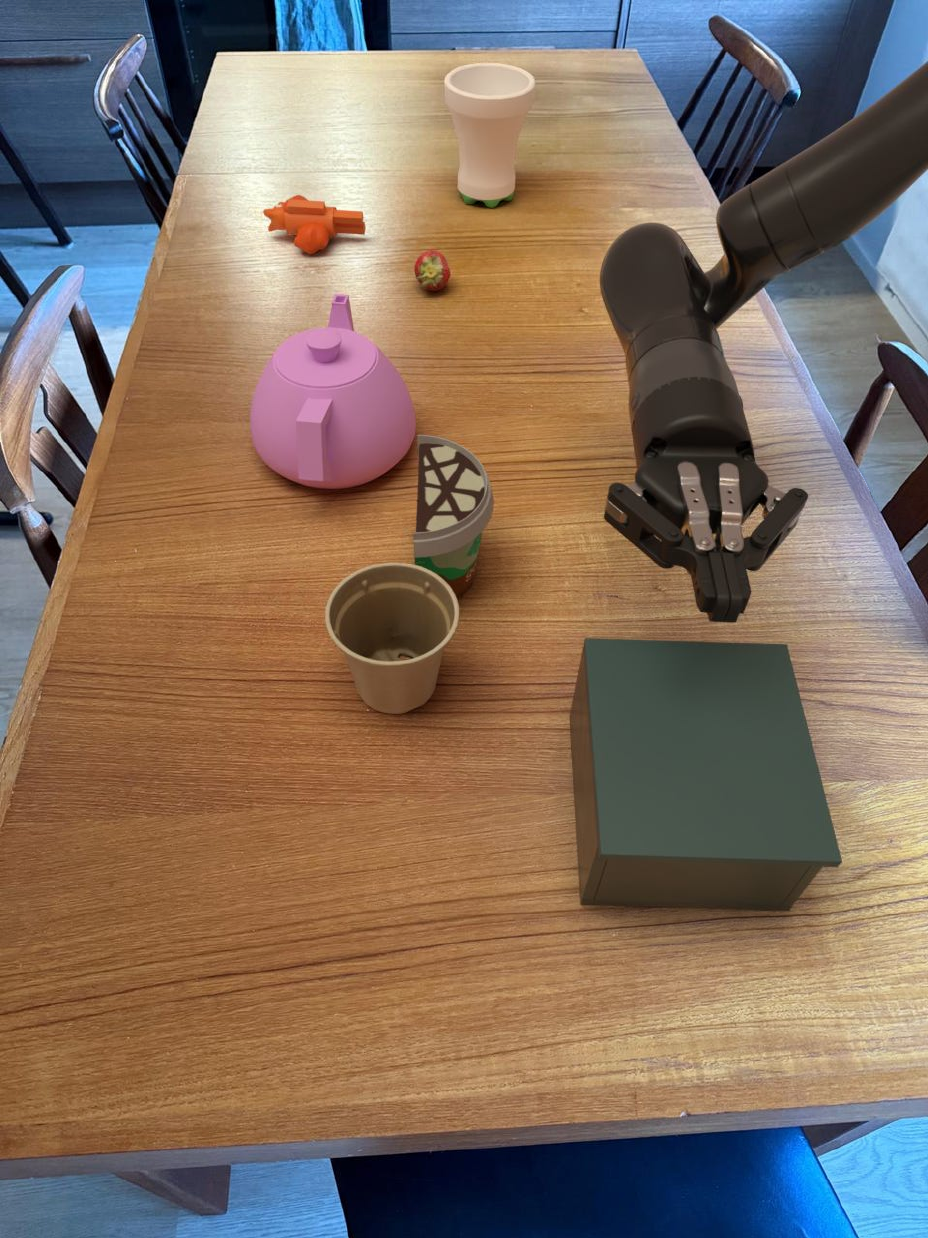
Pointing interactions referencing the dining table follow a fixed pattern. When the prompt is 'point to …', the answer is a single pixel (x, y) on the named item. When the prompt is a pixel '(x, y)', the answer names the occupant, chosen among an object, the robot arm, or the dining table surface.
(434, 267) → the fruit
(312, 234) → the orange long irregular piece
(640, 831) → the lid
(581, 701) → the caddy
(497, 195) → the cup
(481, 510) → the food container
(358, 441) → the teapot
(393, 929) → the dining table surface
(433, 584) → the flower pot
